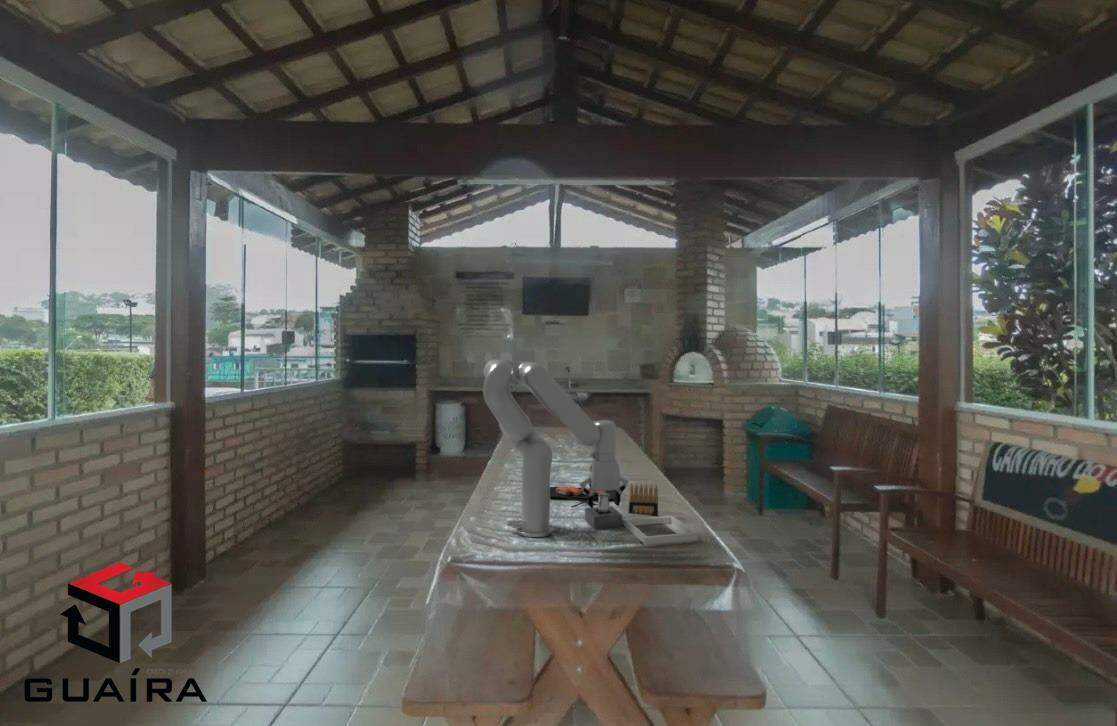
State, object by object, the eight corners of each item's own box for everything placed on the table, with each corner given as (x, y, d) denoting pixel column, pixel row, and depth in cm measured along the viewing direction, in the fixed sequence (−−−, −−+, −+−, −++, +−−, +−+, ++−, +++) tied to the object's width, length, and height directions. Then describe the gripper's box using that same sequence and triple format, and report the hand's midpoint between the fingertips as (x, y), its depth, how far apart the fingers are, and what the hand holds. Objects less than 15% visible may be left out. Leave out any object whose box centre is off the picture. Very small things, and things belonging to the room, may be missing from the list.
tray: (645, 547, 181) (645, 537, 181) (623, 528, 199) (623, 519, 199) (697, 542, 186) (697, 533, 186) (671, 524, 204) (671, 515, 203)
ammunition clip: (628, 515, 212) (628, 483, 212) (628, 514, 214) (628, 482, 213) (658, 517, 211) (658, 484, 210) (657, 515, 213) (658, 483, 212)
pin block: (594, 531, 195) (594, 517, 195) (584, 522, 204) (585, 508, 204) (622, 529, 198) (622, 514, 197) (611, 520, 207) (611, 506, 207)
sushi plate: (616, 493, 244) (616, 484, 243) (616, 516, 214) (616, 505, 213) (547, 490, 246) (547, 481, 246) (538, 512, 216) (538, 502, 216)
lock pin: (599, 524, 199) (600, 496, 198) (596, 521, 202) (597, 493, 202) (609, 524, 200) (610, 495, 199) (606, 520, 203) (607, 492, 203)
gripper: (583, 460, 194) (583, 511, 195) (632, 457, 198) (631, 507, 199) (577, 455, 201) (576, 504, 202) (623, 453, 206) (623, 500, 207)
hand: (603, 505), depth 201 cm, fingers open, 9 cm apart
